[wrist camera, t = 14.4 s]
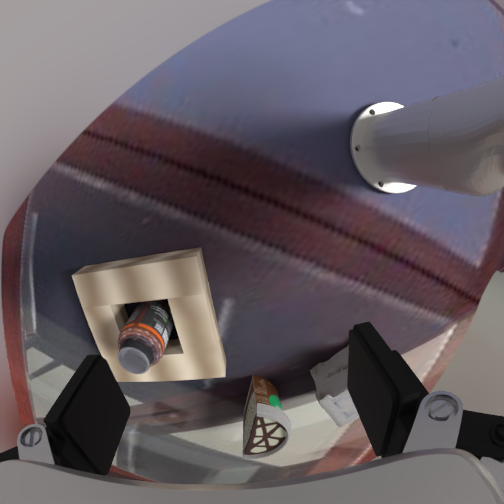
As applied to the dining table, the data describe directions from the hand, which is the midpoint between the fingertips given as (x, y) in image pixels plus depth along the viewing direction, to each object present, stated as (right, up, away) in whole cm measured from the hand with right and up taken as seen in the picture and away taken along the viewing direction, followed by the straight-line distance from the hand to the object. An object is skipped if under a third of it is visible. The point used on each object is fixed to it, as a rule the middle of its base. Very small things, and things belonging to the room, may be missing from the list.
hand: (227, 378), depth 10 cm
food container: (+3, -20, +35) cm, 41 cm away
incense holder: (+15, -13, +34) cm, 40 cm away
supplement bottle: (-13, -4, +31) cm, 33 cm away
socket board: (-13, -5, +30) cm, 33 cm away
